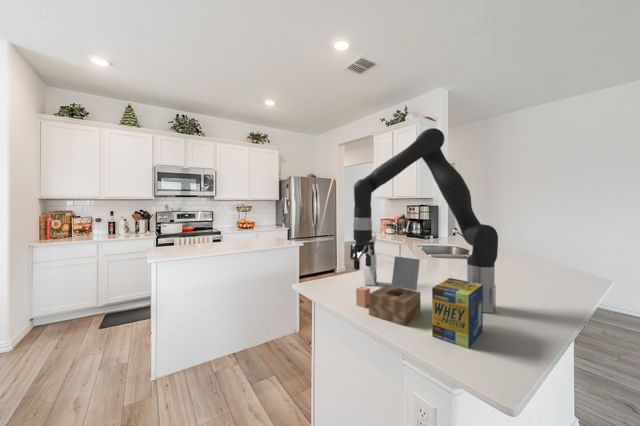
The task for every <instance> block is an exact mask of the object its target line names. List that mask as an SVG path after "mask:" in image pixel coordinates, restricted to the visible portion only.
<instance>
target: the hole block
mask: <svg viewBox="0 0 640 426" xmlns="http://www.w3.org/2000/svg"><path fill="white" fill-rule="evenodd" d="M421 301H422V300H421V292H420V291H415V290H411V289H406V288H401V287H396V286H391V285H384V286H382V287H380V288H377V289H375V290H373V291H370V293H369V306H368V315H369V316H370V317H374V318H377V319H380V320H384V321H387V322H391V323H394V324H398V325H400V326H403V327H405V326H407V325H408V324H410V322H411V321H413V320H414V319H415V318H417V317H418V316H419V315H420V314H421Z"/></svg>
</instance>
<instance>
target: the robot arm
mask: <svg viewBox="0 0 640 426" xmlns="http://www.w3.org/2000/svg"><path fill="white" fill-rule="evenodd" d="M444 142H445V135H444V133H443V131H441V130H440V129H439V128H434V127H432V128H428V129H425V130H424V131H422V132H421V133H420V134H419V135H418V136H417V137H416V140H414V141H413V142H412V143H411V144H410V145H408V146H407V147H406V148H404V149H403V150H402V151H401V152H399V153H398V154H395V155H394V156H393V157H391V158H389V159H388V160H386V161H384V163H382V164H381V165H379V166H378V167H376V168H375V169H374V170H373V171H372V172H371V173H369V174H368V175H367V176H366V177H364V178H362V179H359V180H357V181H356V182H355V183H354V186H353V201H354V206H353V207H354V208H353V240H354V241H355V244H354V243H351V244H350V257H349V259H350V260H353V269H354V270H355V271H360V267H361V263H360V260H361V258H362V257H363V254H365V256H366V266H369V267H370V266H371V257H372V255H374V249H375V246H374V242H373V241H371V240H372V235H373V233H372V232H373V221H372V193H373V192H375V191H376V190H377V189H378V188H380V187H381V186H383V185H385V184H387V183H388V182H389V181H391V180H392V179H393V178H395V177H397V176H398V175H399V174H400V173H402V172H403V171H405V170H406V169H407V168H408V167H410V166H411V165H412V164H414V163H415V162H417V161H419V160H420V159H422V160H423V161H424V163H425V164H426V166H427V167H428V169H429V170H430V172H431V175H432V177H433V179H434V182H435V183H436V185H437V187H438V189H439V191H440V194H441V195H442V197H443V198H444V200H445V202H446V204H447V206H448V207H449V210H450V211H451V213H452V215H453V216H454V217H455V219H456V222H457V224H458V227H459V229H460V232H461V235H462V237H463V239H464V240H465V242H466V243H467V244H468V245H470V246H472V253H471V255H469V256H467V258H466V269H467V270H466V281H468V282H473V283H479V284H483V313H488V314H493V313H495V310H496V309H497V305H496V302H497V300H496V296H497V294H496V292H497V291H496V290H497V289H496V288H497V285H496V283H495V276H496V275H495V271H496V270H495V268H496V267H495V265H496V261H497V258H498V251H499V250H498V249H499V235H498V232H497V230H496V228H494V226H492V225H489V224H483V223H481V222H480V221H479V219H478V218H477V216H476V215H475V213H474V210H473V207H472V196H471V191H470V188H469V187H468V185H467V183H466V182H465V180H464V178H463V176H462V175H461V174H460V172H459V171H458V170H457V169H456V168H455V167H454V166H453V165H452V164H451V163H449V161H448V160H447V159H446V156H445V155H444V153H443V150H442V147H443V145H444ZM371 250H372V252H371Z"/></svg>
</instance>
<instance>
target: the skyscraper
mask: <svg viewBox="0 0 640 426" xmlns="http://www.w3.org/2000/svg"><path fill="white" fill-rule="evenodd" d="M373 234H374V235H373ZM371 241H373V242H374V247H375V246H376V241H377V234H376V232H374V231H372V240H371ZM371 252H372V250H371ZM362 269H363V271H362V272H363V277H364V280H363V284H364V287H379V286H380V284H379V283H378V280H377V278H378V277H377V276H378V275H377V256H376V249H375V248H374V255H372V257H371V266H370V267H369V266H366V256H365V254H363V255H362Z"/></svg>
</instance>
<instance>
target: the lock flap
mask: <svg viewBox="0 0 640 426" xmlns="http://www.w3.org/2000/svg"><path fill="white" fill-rule="evenodd" d="M419 269H420V259H419V258H411V257H410V258H409V257H402V256H396V255H395V256H394V262H393V270H392V271H393V272H392V278H391V279H392V280H391V285H390V286H393V287H397V288H402V289H407V290H412V291H416V292H418V290H417V289H418V282H419V281H418V279H419Z"/></svg>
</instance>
